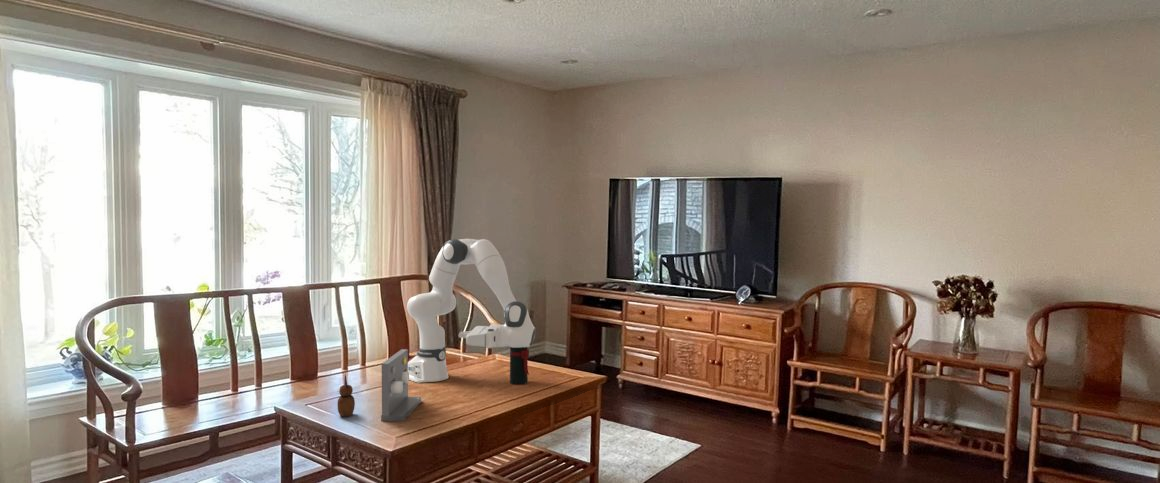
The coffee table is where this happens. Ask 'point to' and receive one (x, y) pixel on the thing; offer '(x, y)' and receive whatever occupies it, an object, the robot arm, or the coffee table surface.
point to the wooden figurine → (346, 400)
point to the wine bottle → (519, 365)
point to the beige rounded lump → (405, 377)
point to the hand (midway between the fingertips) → (459, 334)
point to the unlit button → (396, 387)
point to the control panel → (396, 404)
